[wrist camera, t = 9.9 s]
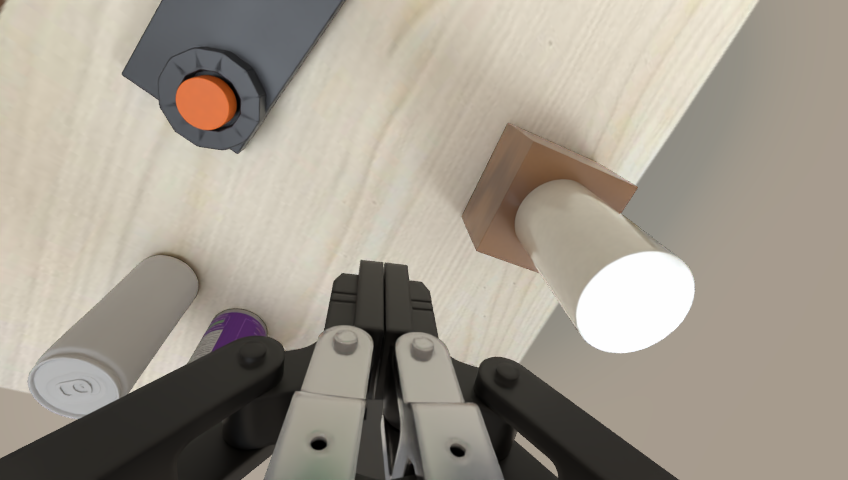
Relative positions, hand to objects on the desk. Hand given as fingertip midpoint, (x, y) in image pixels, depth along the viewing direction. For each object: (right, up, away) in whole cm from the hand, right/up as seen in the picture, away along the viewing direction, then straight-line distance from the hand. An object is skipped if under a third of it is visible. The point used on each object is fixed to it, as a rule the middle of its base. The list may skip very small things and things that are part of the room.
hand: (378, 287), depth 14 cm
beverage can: (-19, -1, +21) cm, 28 cm away
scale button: (-12, +10, +13) cm, 20 cm away
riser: (+10, +5, +20) cm, 23 cm away
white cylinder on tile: (+10, +3, +15) cm, 18 cm away
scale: (-10, +15, +14) cm, 23 cm away
